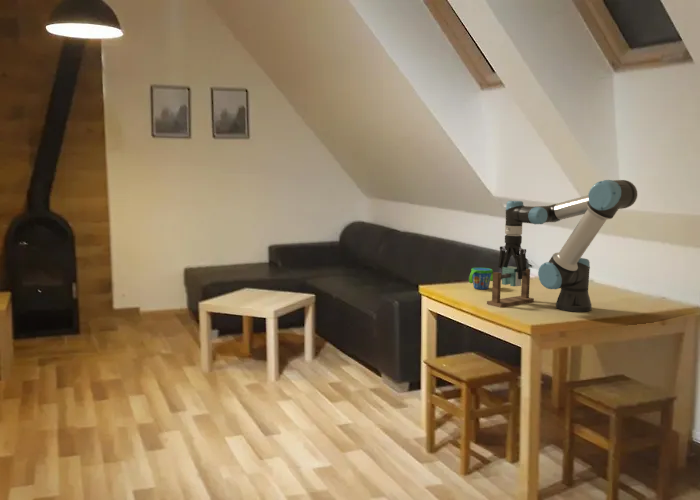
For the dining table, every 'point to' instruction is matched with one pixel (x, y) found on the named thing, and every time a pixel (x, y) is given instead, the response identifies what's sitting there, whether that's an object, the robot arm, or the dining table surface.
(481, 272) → the snack cup
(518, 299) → the stand
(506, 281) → the link
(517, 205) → the robot arm
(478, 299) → the dining table surface
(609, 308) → the dining table surface
